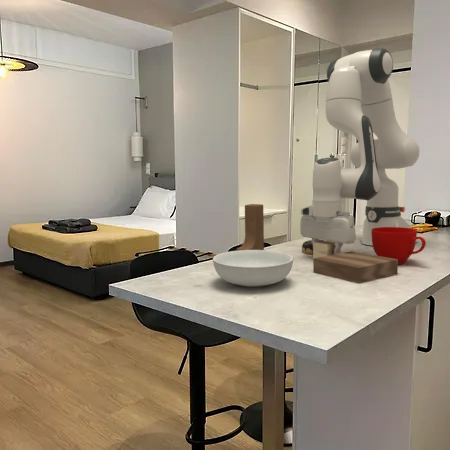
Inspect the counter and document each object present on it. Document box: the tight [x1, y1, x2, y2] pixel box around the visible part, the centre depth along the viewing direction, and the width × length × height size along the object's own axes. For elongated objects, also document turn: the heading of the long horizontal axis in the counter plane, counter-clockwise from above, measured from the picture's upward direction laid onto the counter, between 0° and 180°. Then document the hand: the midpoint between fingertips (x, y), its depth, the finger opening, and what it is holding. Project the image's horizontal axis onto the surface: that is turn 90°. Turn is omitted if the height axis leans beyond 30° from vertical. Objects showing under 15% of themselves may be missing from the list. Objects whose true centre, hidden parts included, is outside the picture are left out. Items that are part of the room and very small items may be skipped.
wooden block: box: [236, 203, 265, 251], centre depth 144 cm, size 9×4×18 cm, turn 138°
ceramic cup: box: [371, 227, 427, 265], centre depth 136 cm, size 13×17×10 cm
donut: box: [301, 239, 326, 256], centre depth 156 cm, size 11×12×4 cm
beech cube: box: [312, 240, 342, 259], centre depth 141 cm, size 6×6×6 cm
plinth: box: [312, 251, 399, 284], centre depth 125 cm, size 16×16×4 cm
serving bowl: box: [212, 249, 294, 288], centre depth 117 cm, size 21×21×7 cm
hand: (326, 254), depth 141 cm, fingers open, 6 cm apart
